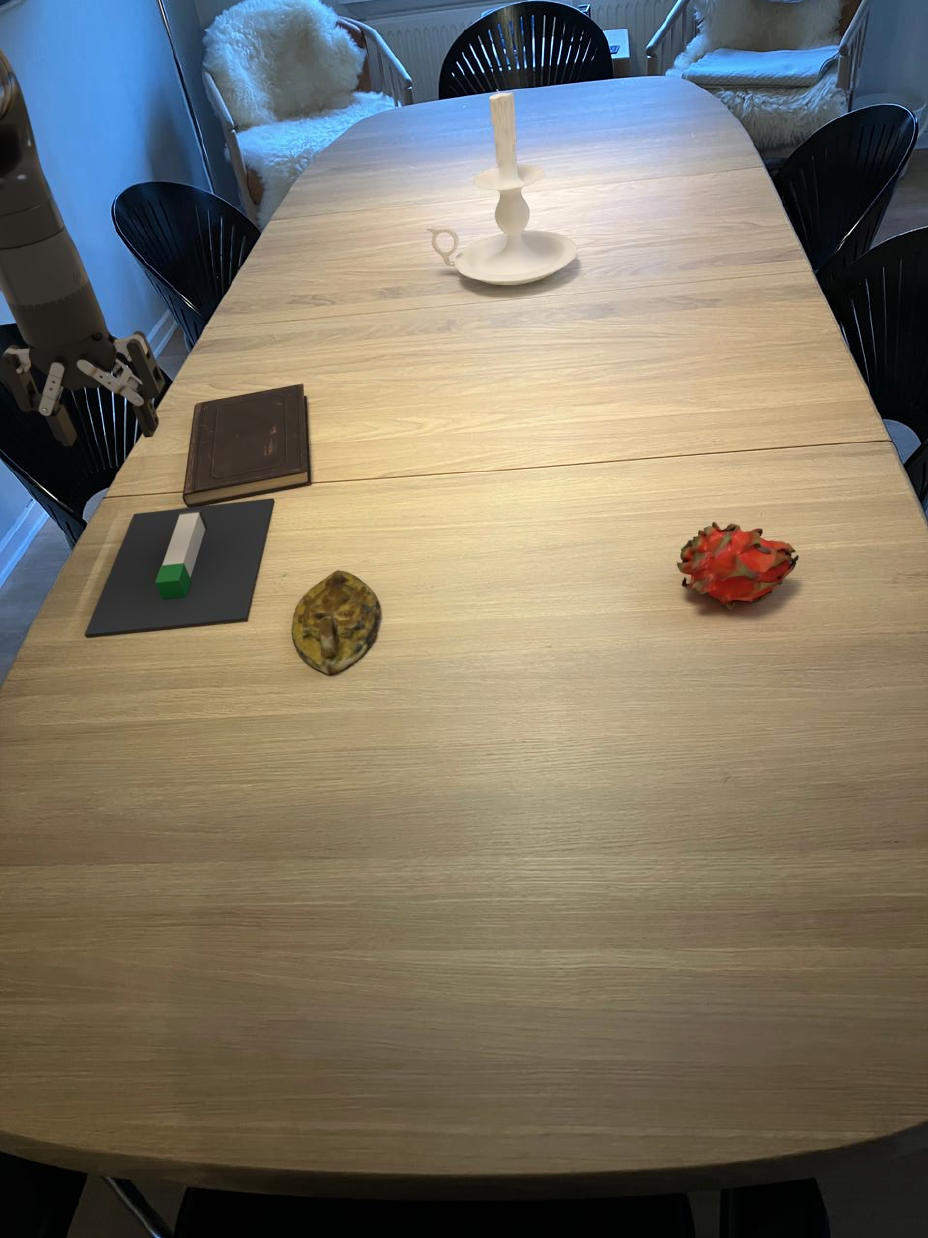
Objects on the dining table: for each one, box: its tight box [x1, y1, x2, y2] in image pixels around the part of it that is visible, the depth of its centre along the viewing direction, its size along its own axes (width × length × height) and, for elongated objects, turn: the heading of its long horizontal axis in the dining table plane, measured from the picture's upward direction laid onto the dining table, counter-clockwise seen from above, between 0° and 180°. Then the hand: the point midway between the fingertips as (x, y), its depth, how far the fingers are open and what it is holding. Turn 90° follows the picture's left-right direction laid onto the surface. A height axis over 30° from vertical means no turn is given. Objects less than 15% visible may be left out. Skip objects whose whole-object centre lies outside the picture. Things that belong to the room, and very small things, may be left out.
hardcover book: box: [182, 383, 312, 508], centre depth 124 cm, size 16×23×2 cm
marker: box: [155, 510, 207, 599], centre depth 107 cm, size 13×3×2 cm, turn 1°
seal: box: [290, 570, 381, 675], centre depth 96 cm, size 9×5×15 cm
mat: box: [84, 497, 275, 638], centre depth 108 cm, size 18×22×1 cm
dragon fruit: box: [675, 521, 800, 610], centre depth 91 cm, size 8×8×12 cm
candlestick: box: [426, 89, 579, 286], centre depth 147 cm, size 21×25×28 cm
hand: (110, 437), depth 95 cm, fingers open, 8 cm apart
